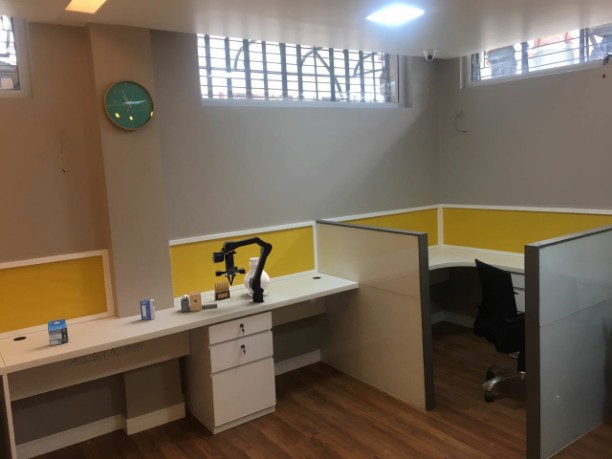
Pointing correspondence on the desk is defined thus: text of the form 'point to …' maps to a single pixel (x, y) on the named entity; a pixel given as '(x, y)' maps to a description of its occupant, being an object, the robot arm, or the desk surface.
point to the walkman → (147, 309)
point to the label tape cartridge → (57, 332)
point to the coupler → (186, 307)
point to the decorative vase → (253, 264)
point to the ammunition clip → (222, 291)
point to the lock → (195, 301)
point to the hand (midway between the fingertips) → (231, 285)
